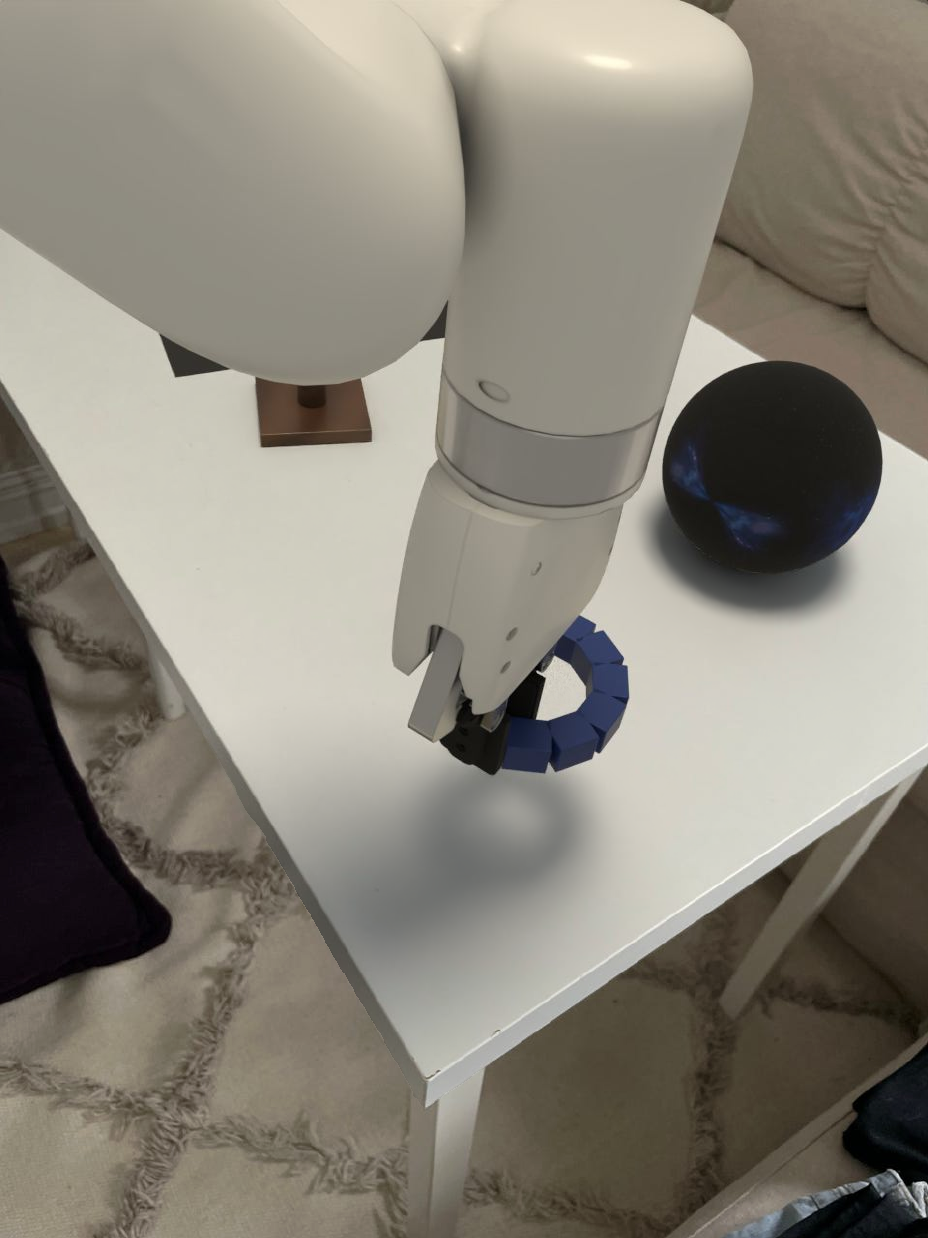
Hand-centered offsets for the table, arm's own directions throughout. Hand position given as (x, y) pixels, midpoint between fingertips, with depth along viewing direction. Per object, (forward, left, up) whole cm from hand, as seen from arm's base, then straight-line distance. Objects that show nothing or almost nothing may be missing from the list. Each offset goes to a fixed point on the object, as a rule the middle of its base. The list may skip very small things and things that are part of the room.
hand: (486, 735), depth 47 cm
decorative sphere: (+26, +24, -12) cm, 37 cm away
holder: (-5, +44, -12) cm, 45 cm away
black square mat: (-6, +70, -12) cm, 71 cm away
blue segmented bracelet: (+3, +3, 0) cm, 4 cm away
